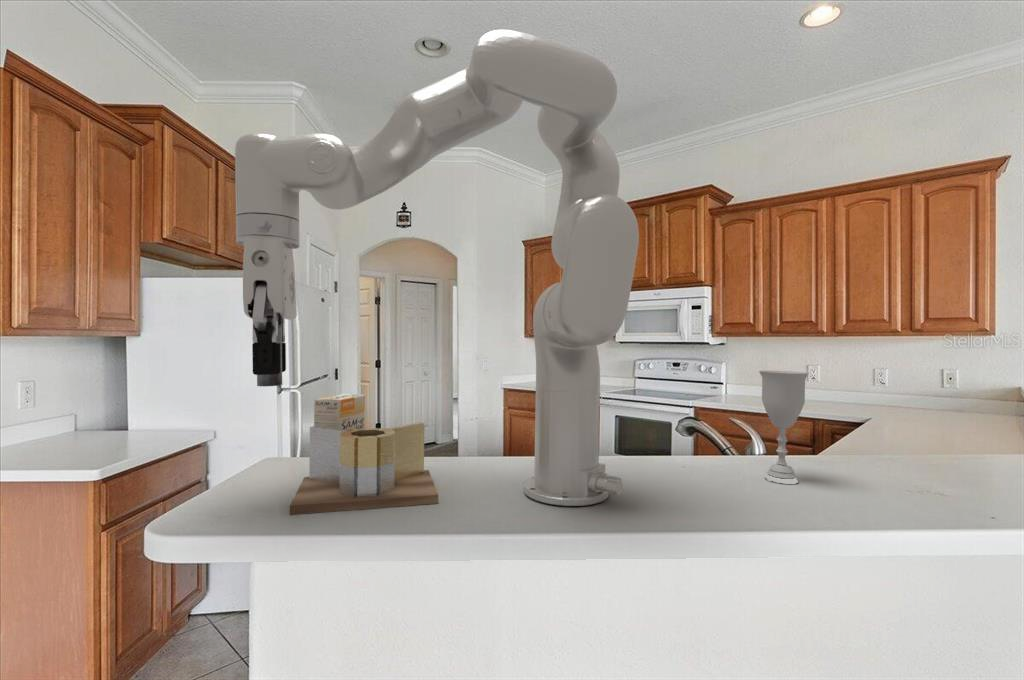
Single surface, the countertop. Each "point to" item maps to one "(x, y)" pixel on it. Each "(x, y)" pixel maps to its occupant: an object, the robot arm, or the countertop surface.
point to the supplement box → (340, 411)
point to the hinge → (366, 457)
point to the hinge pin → (277, 378)
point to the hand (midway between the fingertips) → (269, 371)
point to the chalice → (783, 410)
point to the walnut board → (330, 499)
